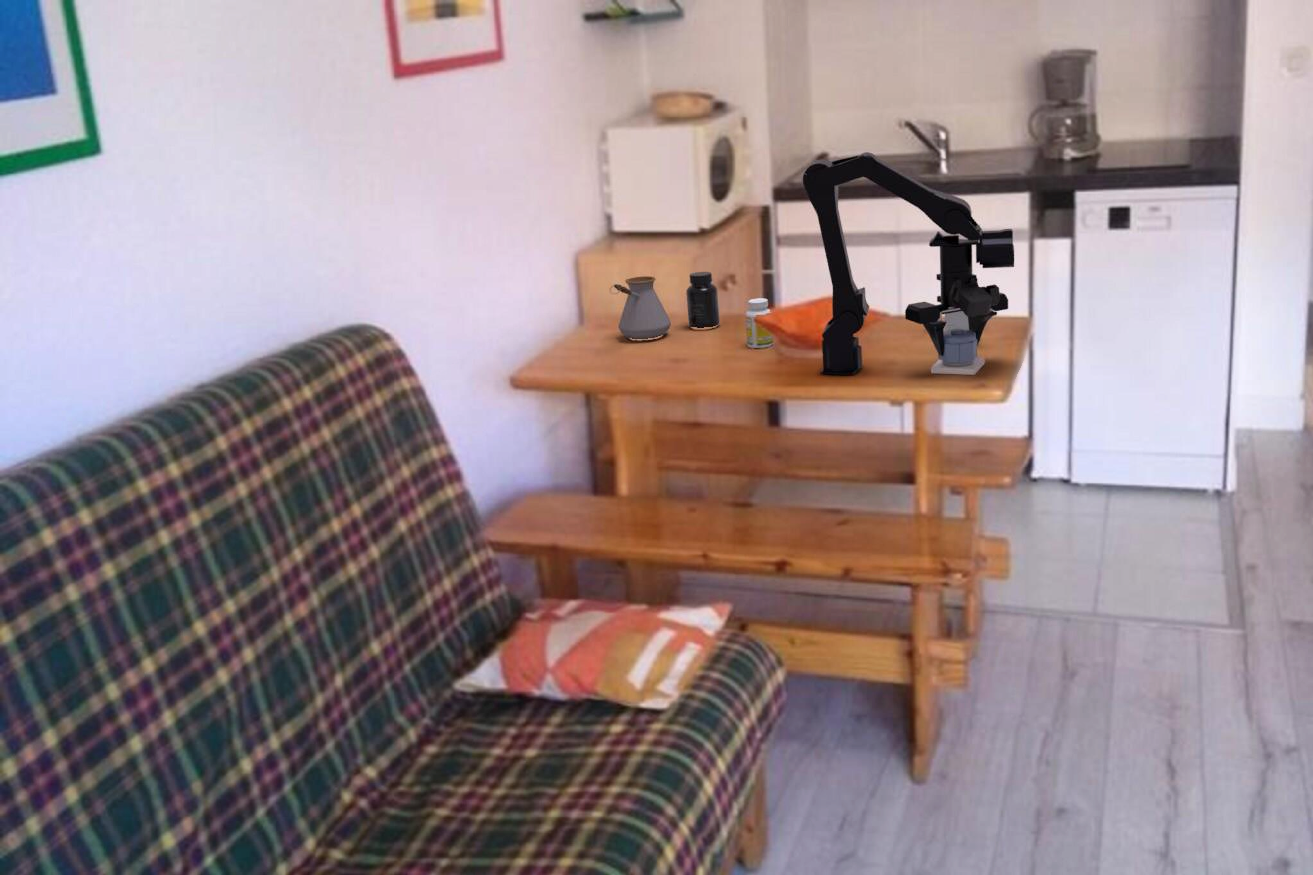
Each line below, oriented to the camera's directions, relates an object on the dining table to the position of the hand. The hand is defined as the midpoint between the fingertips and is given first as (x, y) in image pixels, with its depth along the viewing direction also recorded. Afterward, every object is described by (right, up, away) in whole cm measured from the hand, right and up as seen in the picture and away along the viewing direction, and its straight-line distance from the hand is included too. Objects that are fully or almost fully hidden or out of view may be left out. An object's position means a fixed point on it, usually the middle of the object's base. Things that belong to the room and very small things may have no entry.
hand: (957, 352), depth 254 cm
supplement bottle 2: (-34, +3, +30) cm, 45 cm away
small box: (+4, +2, +17) cm, 18 cm away
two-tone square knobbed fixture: (0, -3, +1) cm, 3 cm away
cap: (0, -1, 0) cm, 1 cm away
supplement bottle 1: (-45, +8, +50) cm, 68 cm away
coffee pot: (-60, +4, +41) cm, 73 cm away
